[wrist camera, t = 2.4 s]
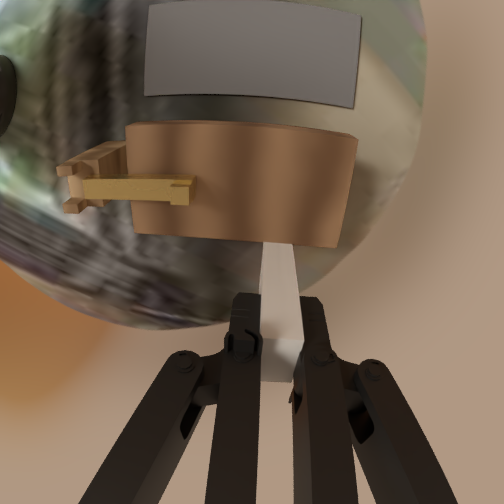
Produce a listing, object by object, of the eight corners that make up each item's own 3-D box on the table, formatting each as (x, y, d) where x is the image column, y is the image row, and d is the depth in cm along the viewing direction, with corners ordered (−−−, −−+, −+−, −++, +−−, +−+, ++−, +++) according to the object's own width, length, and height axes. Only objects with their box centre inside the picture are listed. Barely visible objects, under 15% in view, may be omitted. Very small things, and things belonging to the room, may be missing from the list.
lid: (147, 216, 32) (134, 232, 29) (141, 120, 26) (125, 126, 23) (329, 229, 32) (336, 248, 29) (346, 132, 26) (358, 139, 23)
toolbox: (110, 188, 35) (66, 226, 26) (105, 130, 31) (53, 152, 22) (321, 200, 35) (341, 245, 26) (331, 137, 31) (359, 161, 22)
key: (92, 193, 26) (78, 203, 24) (89, 174, 25) (75, 184, 22) (196, 196, 26) (189, 207, 24) (195, 174, 25) (188, 184, 23)
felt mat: (144, 96, 29) (144, 96, 29) (150, 5, 23) (149, 5, 22) (351, 108, 29) (352, 108, 29) (360, 15, 23) (361, 15, 22)
